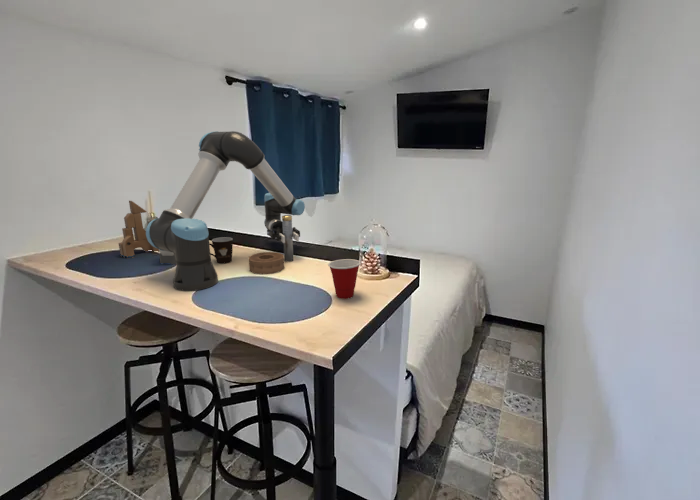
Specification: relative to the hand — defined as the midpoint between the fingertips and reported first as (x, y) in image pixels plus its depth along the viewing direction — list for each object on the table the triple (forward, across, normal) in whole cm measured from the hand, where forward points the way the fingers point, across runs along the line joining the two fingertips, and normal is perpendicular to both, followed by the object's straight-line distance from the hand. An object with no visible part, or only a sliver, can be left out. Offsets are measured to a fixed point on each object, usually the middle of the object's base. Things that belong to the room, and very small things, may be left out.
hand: (291, 239), depth 155 cm
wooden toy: (-43, +61, -11) cm, 75 cm away
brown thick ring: (+2, +11, -11) cm, 16 cm away
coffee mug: (-16, +28, -11) cm, 34 cm away
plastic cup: (+41, -7, -11) cm, 43 cm away
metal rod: (-5, 0, -11) cm, 12 cm away
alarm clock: (-27, +46, -11) cm, 55 cm away
